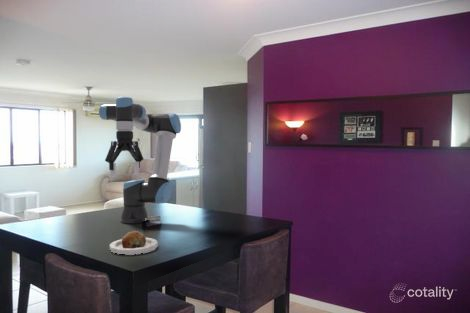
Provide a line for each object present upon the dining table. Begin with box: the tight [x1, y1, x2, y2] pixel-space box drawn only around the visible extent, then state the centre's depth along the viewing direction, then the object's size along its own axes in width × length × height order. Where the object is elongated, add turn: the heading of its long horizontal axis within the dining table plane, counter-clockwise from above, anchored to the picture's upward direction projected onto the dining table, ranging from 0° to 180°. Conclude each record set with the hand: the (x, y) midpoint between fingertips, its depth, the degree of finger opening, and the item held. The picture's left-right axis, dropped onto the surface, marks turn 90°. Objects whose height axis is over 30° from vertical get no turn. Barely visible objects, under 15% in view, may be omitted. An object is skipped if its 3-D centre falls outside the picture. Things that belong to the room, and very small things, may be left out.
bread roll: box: [121, 230, 146, 249], centre depth 155 cm, size 10×10×8 cm
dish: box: [109, 236, 159, 256], centre depth 155 cm, size 19×19×2 cm
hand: (125, 176), depth 171 cm, fingers open, 13 cm apart
